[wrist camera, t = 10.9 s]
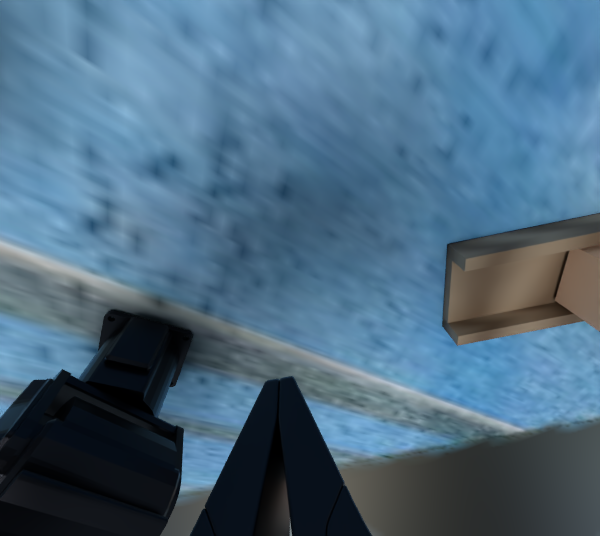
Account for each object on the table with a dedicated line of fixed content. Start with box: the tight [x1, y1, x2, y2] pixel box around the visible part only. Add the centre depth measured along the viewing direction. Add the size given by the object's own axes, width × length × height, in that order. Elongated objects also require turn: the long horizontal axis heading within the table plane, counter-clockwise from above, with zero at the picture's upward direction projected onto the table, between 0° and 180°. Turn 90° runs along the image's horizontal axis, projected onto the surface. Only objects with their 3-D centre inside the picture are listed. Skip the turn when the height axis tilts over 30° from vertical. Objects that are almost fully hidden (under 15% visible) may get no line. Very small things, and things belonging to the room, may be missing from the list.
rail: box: [442, 213, 600, 346], centre depth 22 cm, size 17×8×2 cm, turn 101°
